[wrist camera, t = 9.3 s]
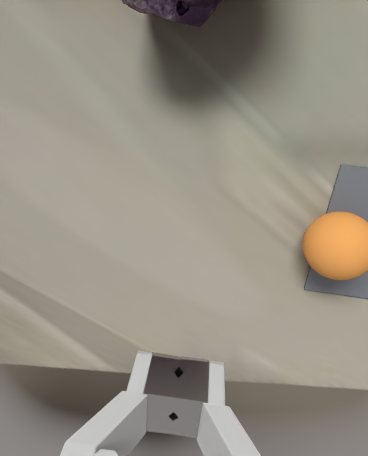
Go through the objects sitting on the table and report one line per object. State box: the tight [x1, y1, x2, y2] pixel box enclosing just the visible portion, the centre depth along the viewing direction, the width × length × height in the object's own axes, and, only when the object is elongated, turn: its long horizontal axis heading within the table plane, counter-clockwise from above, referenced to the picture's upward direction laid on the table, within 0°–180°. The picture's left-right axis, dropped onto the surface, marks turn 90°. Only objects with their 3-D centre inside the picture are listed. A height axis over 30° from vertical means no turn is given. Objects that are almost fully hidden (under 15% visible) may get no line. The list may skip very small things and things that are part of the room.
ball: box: [303, 212, 368, 280], centre depth 26 cm, size 5×5×5 cm
